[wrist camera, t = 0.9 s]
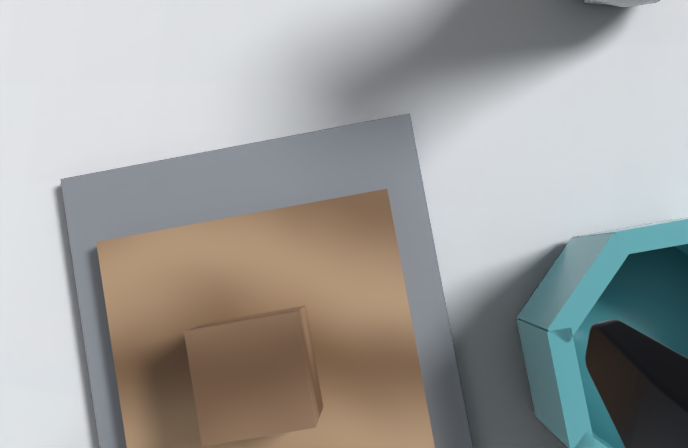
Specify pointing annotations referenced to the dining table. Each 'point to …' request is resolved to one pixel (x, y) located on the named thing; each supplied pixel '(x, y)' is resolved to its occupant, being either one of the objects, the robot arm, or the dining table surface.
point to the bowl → (601, 319)
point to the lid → (267, 331)
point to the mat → (256, 196)
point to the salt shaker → (621, 2)
